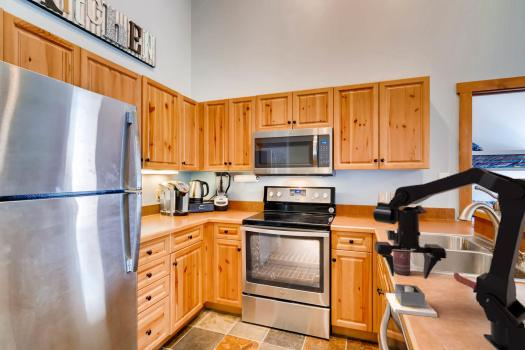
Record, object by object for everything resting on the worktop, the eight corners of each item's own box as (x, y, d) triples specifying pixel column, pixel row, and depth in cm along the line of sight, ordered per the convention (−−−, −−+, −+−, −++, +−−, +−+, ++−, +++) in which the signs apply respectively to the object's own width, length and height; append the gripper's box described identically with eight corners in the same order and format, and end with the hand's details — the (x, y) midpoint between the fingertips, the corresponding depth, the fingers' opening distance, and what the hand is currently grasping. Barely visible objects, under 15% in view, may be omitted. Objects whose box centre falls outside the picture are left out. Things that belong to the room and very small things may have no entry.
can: (410, 272, 107) (410, 238, 107) (409, 277, 102) (409, 241, 102) (394, 269, 110) (394, 236, 110) (392, 274, 105) (392, 239, 105)
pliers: (471, 299, 84) (471, 291, 84) (452, 277, 102) (452, 270, 102) (516, 306, 79) (516, 298, 79) (488, 282, 98) (488, 275, 98)
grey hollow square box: (424, 308, 75) (424, 294, 75) (401, 305, 77) (401, 292, 77) (417, 298, 81) (416, 285, 81) (395, 296, 83) (395, 283, 83)
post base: (437, 317, 72) (437, 297, 72) (394, 312, 75) (394, 293, 75) (422, 299, 83) (422, 282, 83) (385, 295, 86) (385, 279, 86)
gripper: (431, 223, 85) (431, 270, 85) (371, 221, 89) (371, 266, 89) (447, 230, 74) (447, 284, 74) (378, 227, 78) (378, 278, 78)
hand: (408, 277), depth 79 cm, fingers open, 9 cm apart
